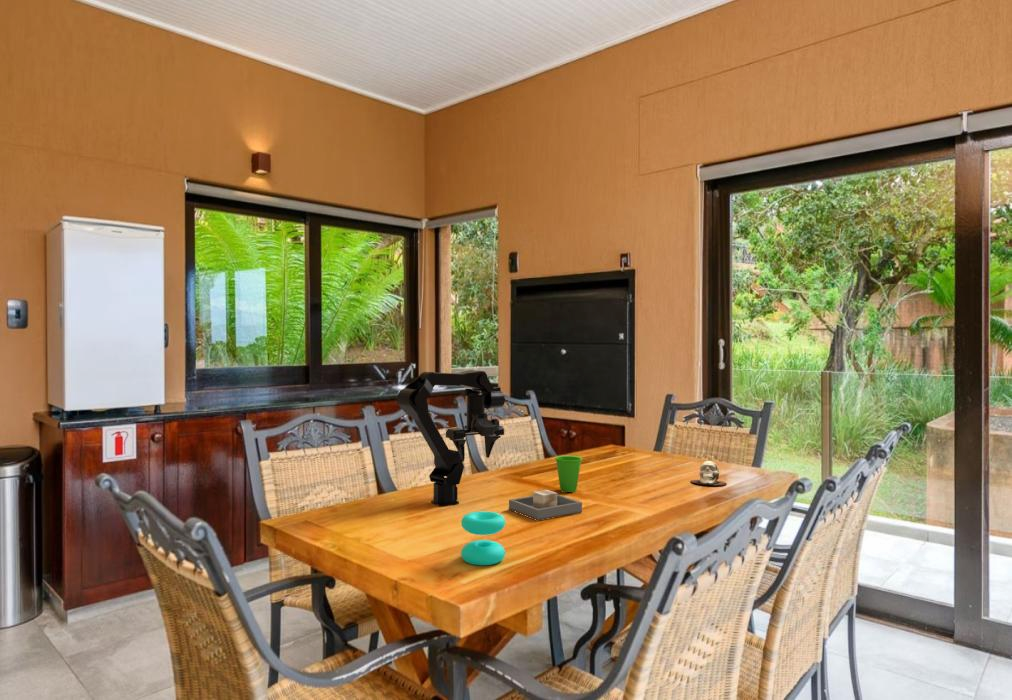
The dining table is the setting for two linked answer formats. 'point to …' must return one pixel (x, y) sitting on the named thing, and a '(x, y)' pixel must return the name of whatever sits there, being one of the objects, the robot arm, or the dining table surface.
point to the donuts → (483, 549)
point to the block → (544, 499)
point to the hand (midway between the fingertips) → (475, 459)
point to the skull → (709, 474)
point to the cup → (568, 472)
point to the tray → (563, 508)
